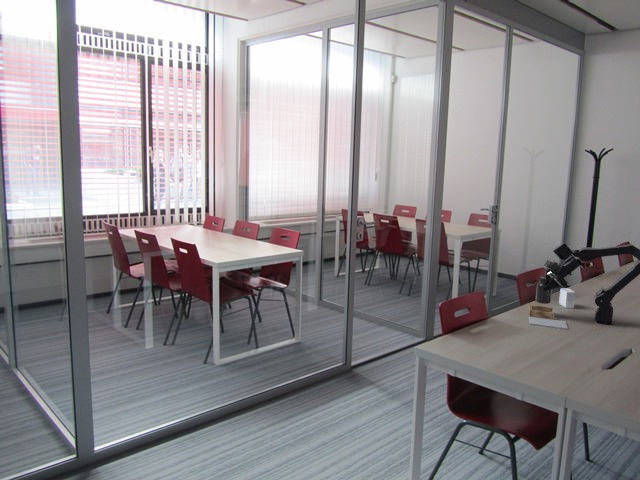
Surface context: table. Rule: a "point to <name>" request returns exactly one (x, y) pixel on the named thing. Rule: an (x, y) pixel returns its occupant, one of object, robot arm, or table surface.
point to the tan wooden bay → (541, 312)
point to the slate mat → (548, 322)
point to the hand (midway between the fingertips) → (541, 288)
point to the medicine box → (567, 298)
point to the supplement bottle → (540, 293)
